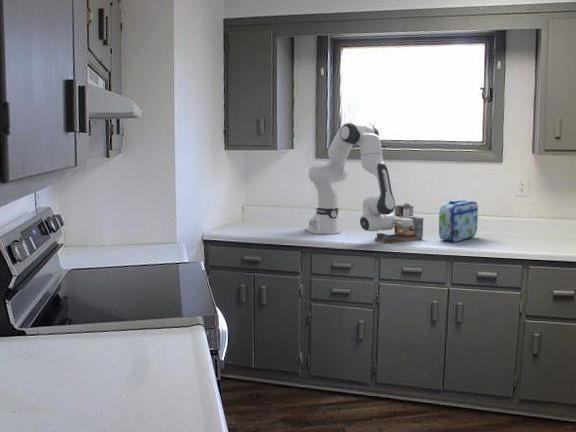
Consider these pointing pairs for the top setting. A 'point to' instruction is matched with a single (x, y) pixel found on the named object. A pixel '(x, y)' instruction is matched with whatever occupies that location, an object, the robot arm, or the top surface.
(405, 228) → the white column brown base
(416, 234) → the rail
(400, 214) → the coffee box
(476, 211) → the lunch box
